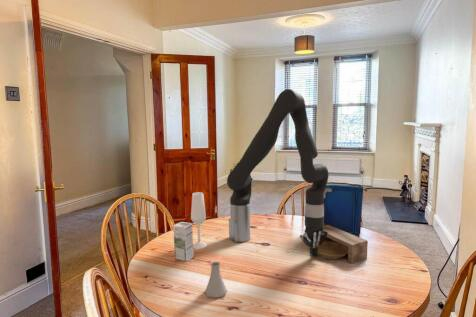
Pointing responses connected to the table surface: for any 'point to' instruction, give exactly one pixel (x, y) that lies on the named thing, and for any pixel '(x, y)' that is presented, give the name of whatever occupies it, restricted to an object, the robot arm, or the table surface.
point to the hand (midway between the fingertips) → (313, 255)
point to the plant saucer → (332, 250)
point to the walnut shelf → (348, 243)
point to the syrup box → (183, 241)
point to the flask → (215, 282)
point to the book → (343, 206)
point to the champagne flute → (198, 215)
